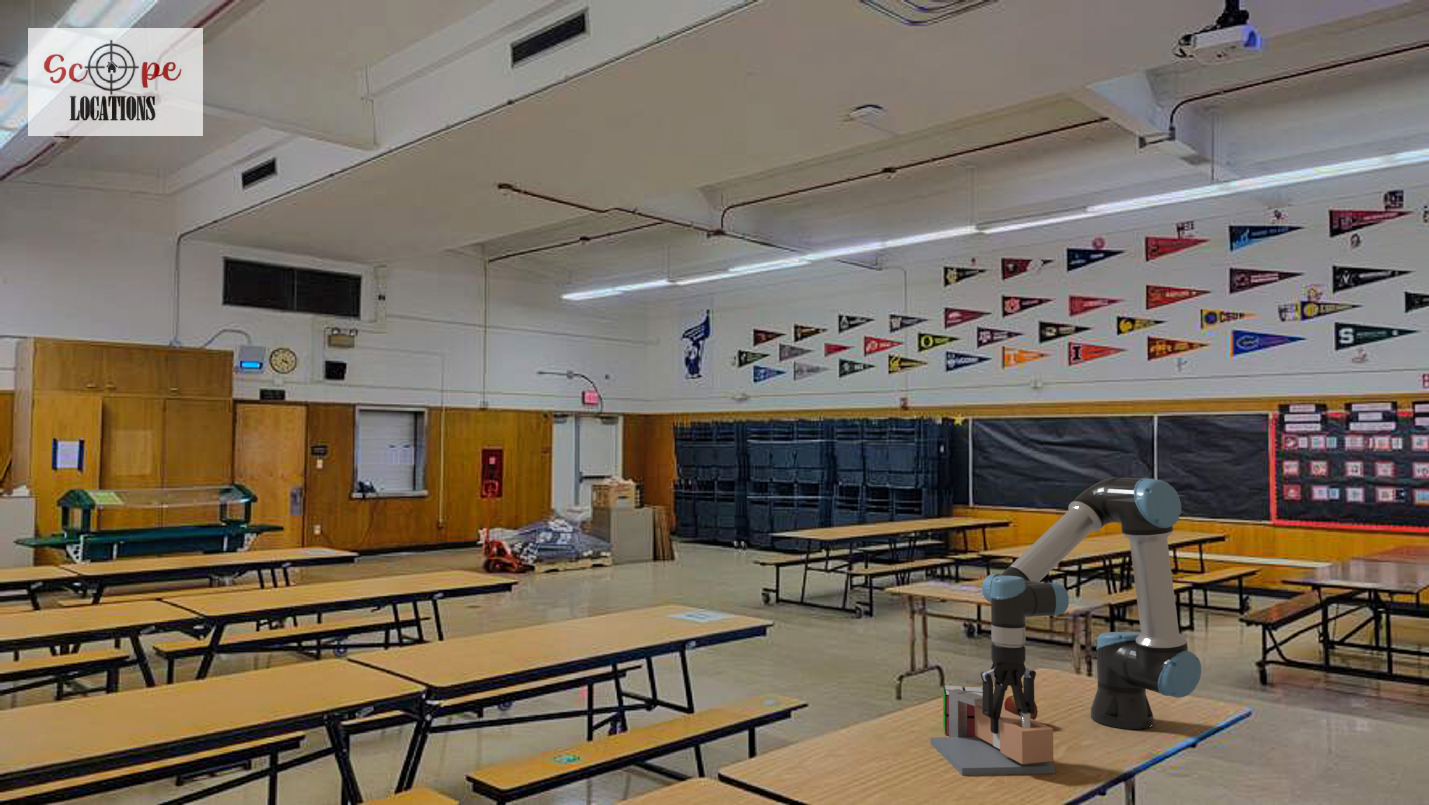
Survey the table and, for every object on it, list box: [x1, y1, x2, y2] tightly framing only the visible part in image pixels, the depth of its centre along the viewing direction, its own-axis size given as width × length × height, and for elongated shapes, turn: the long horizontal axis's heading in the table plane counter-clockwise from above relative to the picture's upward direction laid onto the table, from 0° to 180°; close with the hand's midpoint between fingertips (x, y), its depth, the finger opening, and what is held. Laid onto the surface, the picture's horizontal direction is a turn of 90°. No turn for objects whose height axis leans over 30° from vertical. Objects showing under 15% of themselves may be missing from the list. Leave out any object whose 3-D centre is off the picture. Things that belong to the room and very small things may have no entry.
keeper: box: [948, 689, 983, 737], centre depth 217 cm, size 4×9×12 cm, turn 29°
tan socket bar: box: [975, 705, 1054, 764], centre depth 207 cm, size 20×8×7 cm, turn 17°
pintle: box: [1021, 712, 1031, 729], centre depth 201 cm, size 2×2×12 cm
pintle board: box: [930, 736, 1056, 776], centre depth 207 cm, size 21×21×2 cm
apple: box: [1003, 695, 1038, 721], centre depth 234 cm, size 8×8×8 cm
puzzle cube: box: [942, 684, 983, 737], centre depth 227 cm, size 10×10×10 cm
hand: (1008, 746), depth 207 cm, fingers closed on tan socket bar, 5 cm apart
